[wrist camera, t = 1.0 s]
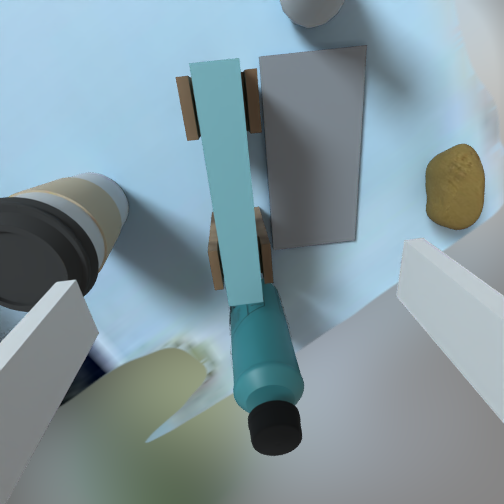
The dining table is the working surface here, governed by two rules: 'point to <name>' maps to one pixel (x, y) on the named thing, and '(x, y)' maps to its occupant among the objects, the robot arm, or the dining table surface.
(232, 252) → the rail
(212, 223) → the post
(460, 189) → the potato
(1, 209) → the coffee cup
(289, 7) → the salt shaker
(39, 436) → the robot arm
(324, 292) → the dining table surface
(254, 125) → the post
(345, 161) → the mat
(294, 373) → the beverage bottle
